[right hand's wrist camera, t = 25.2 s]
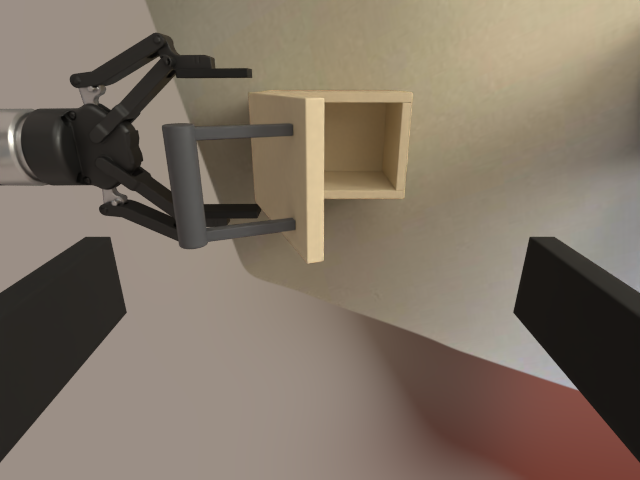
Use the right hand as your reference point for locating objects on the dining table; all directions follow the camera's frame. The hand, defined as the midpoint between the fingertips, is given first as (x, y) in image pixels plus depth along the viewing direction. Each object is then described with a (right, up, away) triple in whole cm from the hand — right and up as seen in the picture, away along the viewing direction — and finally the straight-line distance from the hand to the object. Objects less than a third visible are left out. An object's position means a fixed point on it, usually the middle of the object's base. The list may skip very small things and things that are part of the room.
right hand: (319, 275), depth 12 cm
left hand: (-6, +11, +27) cm, 30 cm away
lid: (-2, +7, +17) cm, 19 cm away
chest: (+1, +13, +33) cm, 36 cm away
